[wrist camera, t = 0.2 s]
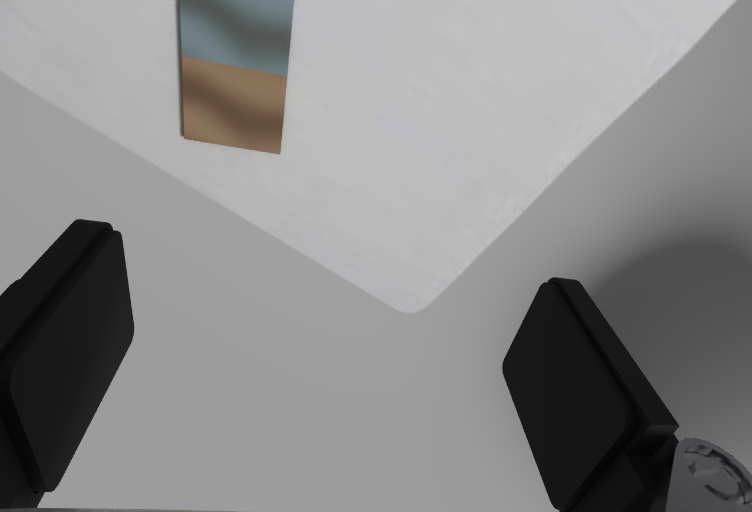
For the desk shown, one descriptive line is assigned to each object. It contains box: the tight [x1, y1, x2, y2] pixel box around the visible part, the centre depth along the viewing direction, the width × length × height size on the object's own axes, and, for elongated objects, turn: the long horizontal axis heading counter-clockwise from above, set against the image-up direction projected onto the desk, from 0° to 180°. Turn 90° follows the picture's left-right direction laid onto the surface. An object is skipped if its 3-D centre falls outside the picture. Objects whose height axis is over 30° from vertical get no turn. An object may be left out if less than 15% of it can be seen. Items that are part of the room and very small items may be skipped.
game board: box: [180, 0, 294, 154], centre depth 39 cm, size 22×9×1 cm, turn 169°
